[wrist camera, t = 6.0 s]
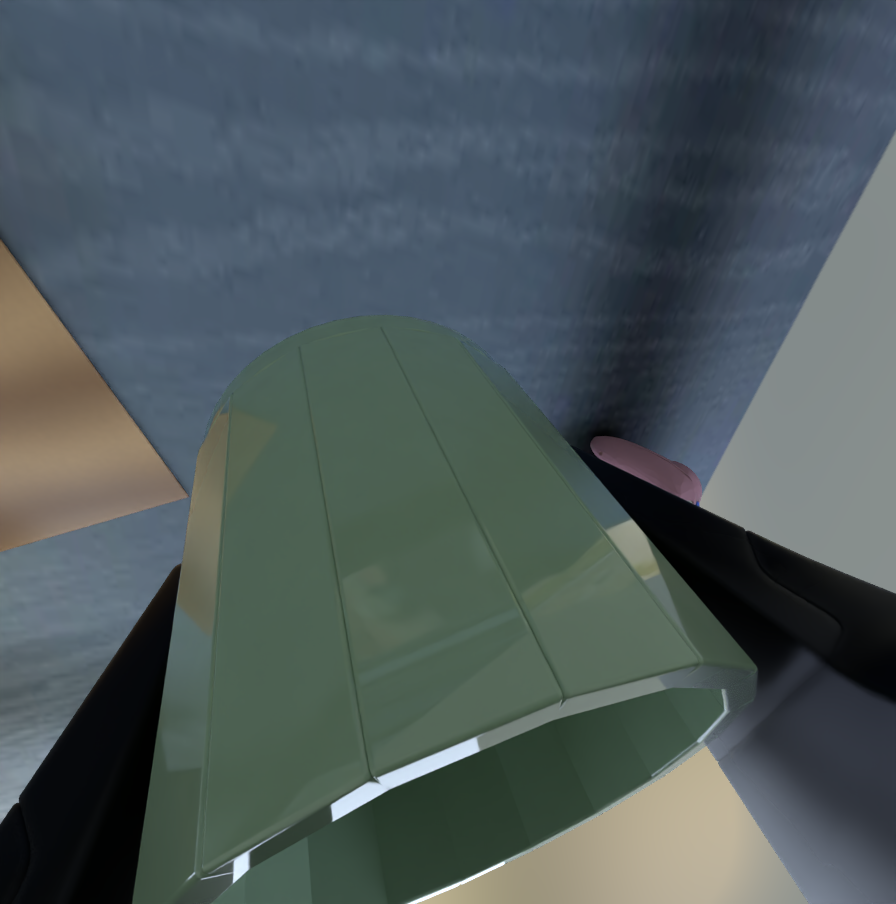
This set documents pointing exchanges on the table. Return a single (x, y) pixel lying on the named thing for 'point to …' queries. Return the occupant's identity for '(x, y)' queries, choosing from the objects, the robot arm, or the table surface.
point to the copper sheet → (63, 428)
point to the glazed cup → (408, 634)
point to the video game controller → (649, 467)
